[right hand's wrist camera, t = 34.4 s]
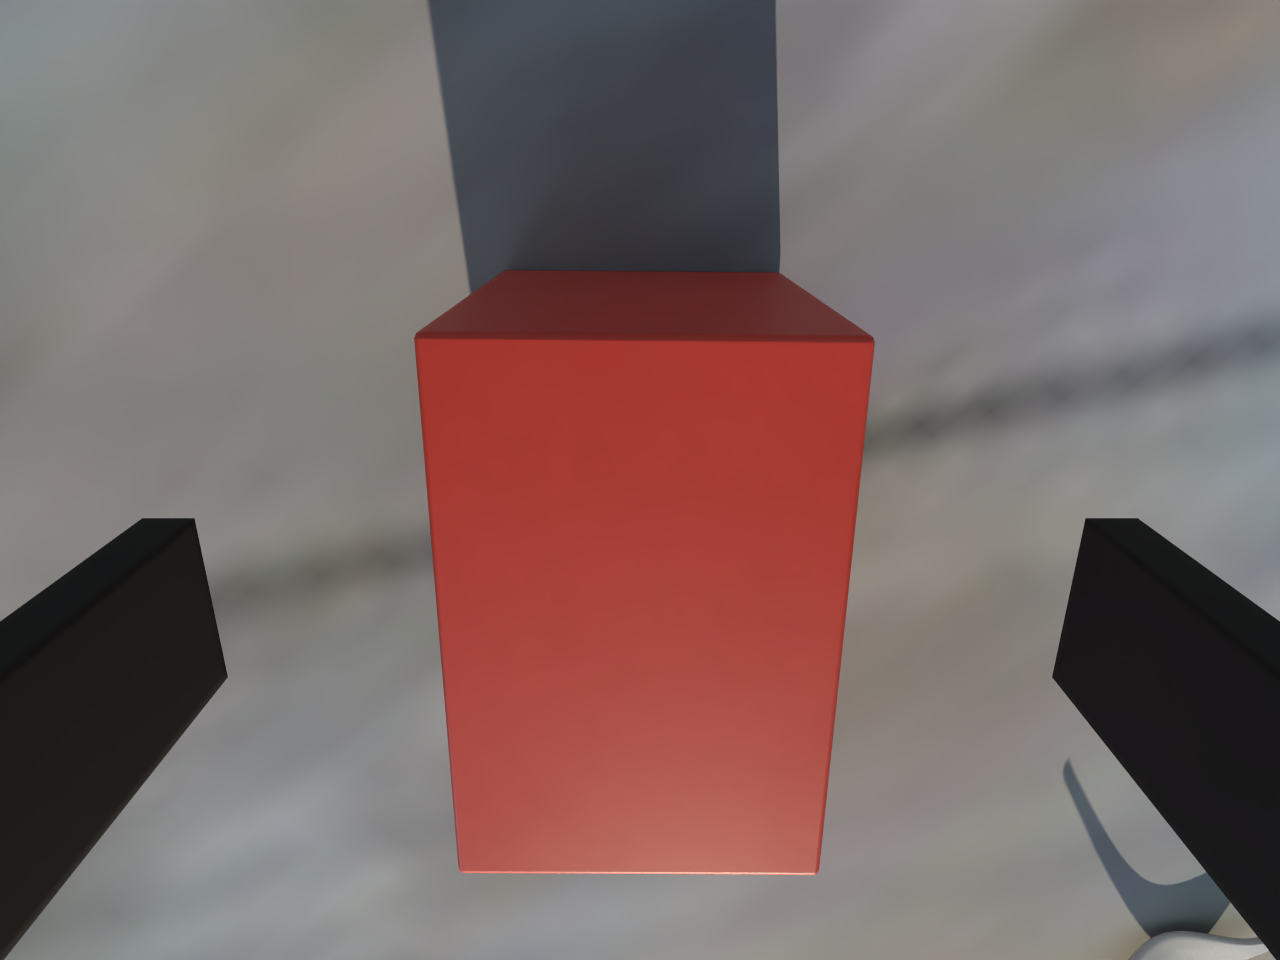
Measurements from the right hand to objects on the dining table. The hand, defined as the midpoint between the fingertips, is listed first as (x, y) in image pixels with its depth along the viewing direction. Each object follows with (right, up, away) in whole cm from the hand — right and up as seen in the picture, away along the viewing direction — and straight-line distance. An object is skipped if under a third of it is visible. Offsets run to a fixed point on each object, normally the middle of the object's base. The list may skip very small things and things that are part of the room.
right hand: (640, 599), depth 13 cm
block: (0, +2, +7) cm, 7 cm away
